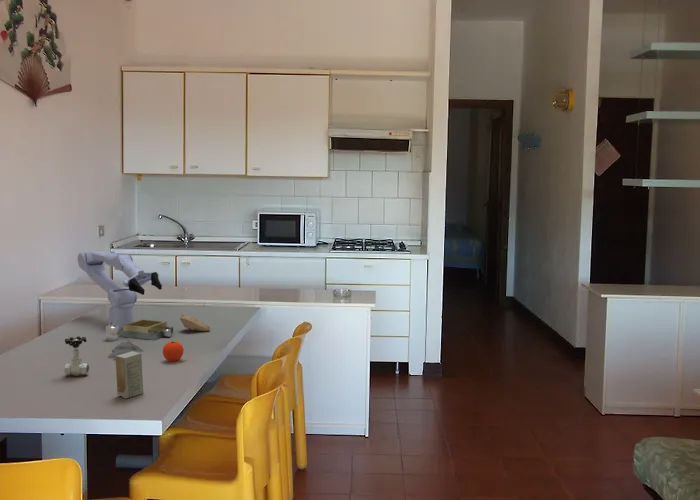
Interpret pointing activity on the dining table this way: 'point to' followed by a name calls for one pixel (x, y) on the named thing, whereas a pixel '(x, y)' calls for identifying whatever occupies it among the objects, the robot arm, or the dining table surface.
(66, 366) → the valve
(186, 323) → the pottery oil lamp
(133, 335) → the metal tray
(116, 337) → the tin can
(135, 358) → the skincare box
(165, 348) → the clementine
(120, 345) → the cloth
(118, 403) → the dining table surface
